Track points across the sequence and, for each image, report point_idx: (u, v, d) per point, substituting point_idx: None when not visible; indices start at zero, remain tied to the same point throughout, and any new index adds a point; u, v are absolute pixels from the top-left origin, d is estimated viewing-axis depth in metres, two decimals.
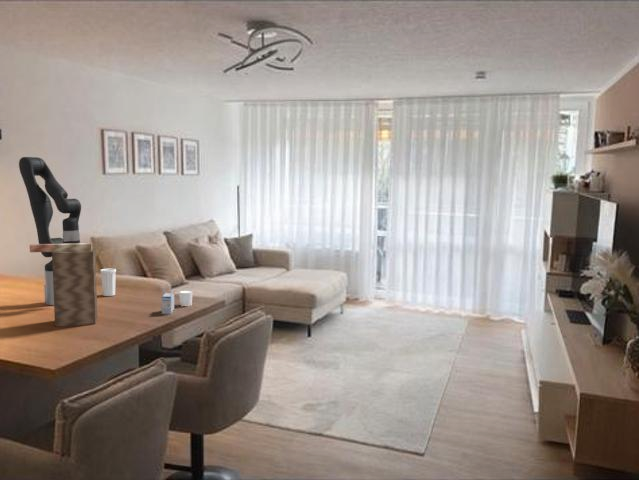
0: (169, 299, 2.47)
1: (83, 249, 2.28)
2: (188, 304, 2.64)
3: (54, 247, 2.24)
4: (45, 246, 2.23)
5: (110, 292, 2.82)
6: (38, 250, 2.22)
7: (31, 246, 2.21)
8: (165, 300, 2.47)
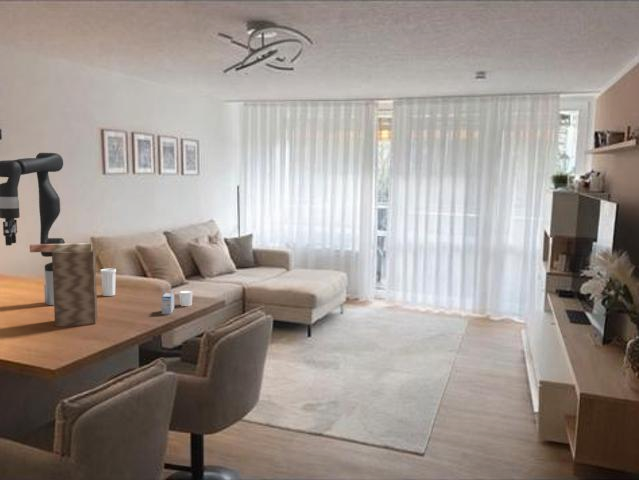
0: (169, 299, 2.47)
1: (83, 249, 2.28)
2: (188, 304, 2.64)
3: (54, 247, 2.24)
4: (45, 246, 2.23)
5: (110, 292, 2.82)
6: (38, 250, 2.22)
7: (31, 246, 2.21)
8: (165, 300, 2.47)
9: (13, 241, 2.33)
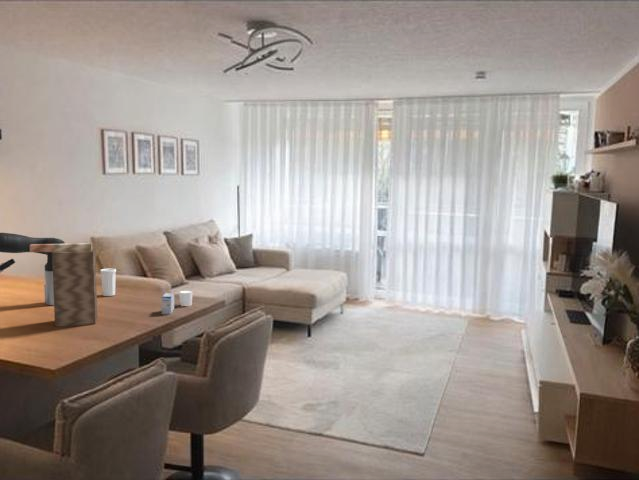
0: (169, 299, 2.47)
1: (83, 249, 2.28)
2: (188, 304, 2.64)
3: (54, 247, 2.24)
4: (45, 246, 2.23)
5: (110, 292, 2.82)
6: (38, 250, 2.22)
7: (31, 246, 2.21)
8: (165, 300, 2.47)
9: (11, 261, 2.25)
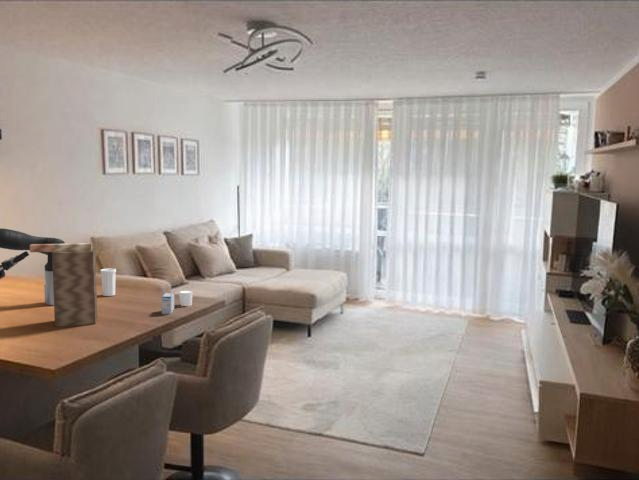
0: (169, 299, 2.47)
1: (83, 249, 2.28)
2: (188, 304, 2.64)
3: (54, 247, 2.24)
4: (45, 246, 2.23)
5: (110, 292, 2.82)
6: (38, 250, 2.22)
7: (31, 246, 2.21)
8: (165, 300, 2.47)
9: (25, 253, 2.26)
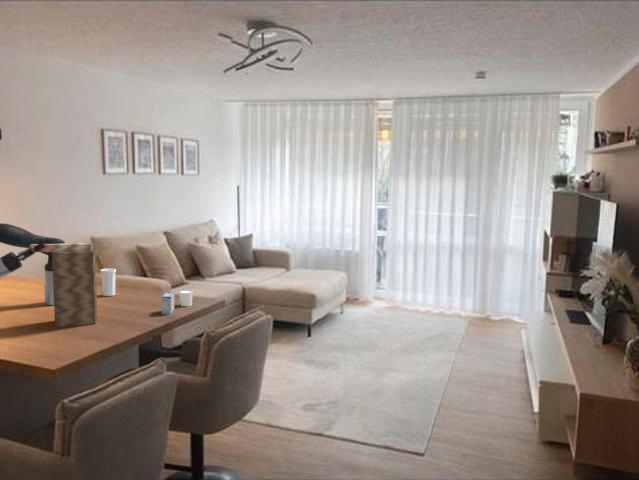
0: (169, 299, 2.47)
1: (83, 249, 2.28)
2: (188, 304, 2.64)
3: (54, 247, 2.24)
4: (45, 246, 2.23)
5: (110, 292, 2.82)
6: None
7: (31, 246, 2.21)
8: (165, 300, 2.47)
9: (43, 244, 2.26)
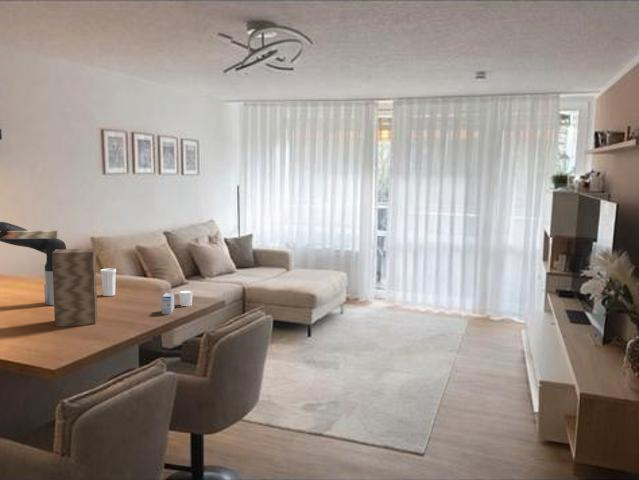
0: (169, 299, 2.47)
1: (48, 236, 2.23)
2: (188, 304, 2.64)
3: (18, 234, 2.19)
4: (8, 233, 2.18)
5: (110, 292, 2.82)
6: (1, 237, 2.17)
7: None
8: (165, 300, 2.47)
9: None
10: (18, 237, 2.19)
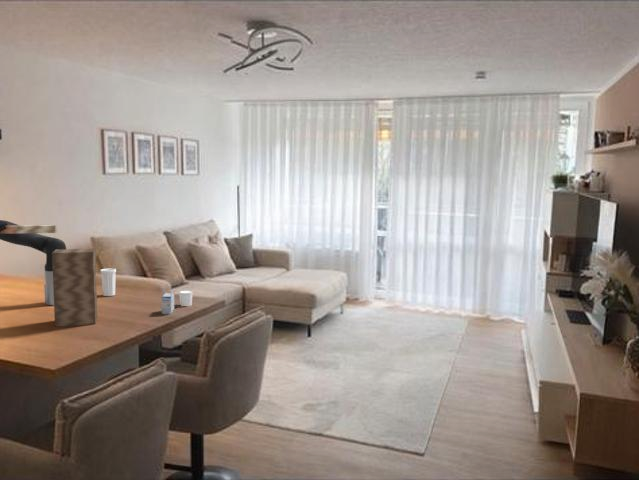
0: (169, 299, 2.47)
1: (47, 231, 2.23)
2: (188, 304, 2.64)
3: (16, 229, 2.19)
4: (7, 227, 2.18)
5: (110, 292, 2.82)
6: None
7: None
8: (165, 300, 2.47)
9: (5, 225, 2.20)
10: (16, 232, 2.19)
